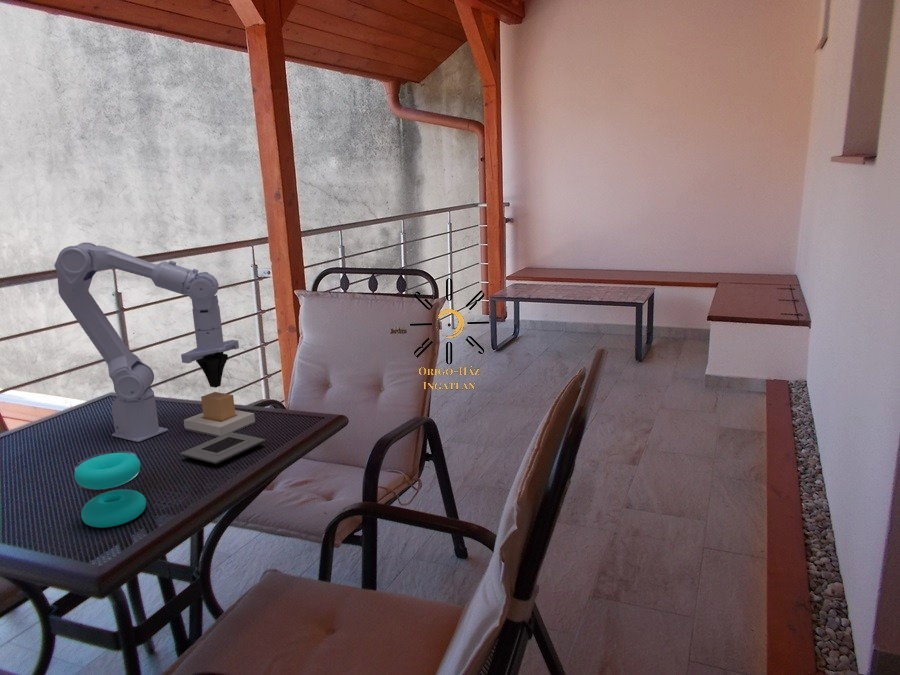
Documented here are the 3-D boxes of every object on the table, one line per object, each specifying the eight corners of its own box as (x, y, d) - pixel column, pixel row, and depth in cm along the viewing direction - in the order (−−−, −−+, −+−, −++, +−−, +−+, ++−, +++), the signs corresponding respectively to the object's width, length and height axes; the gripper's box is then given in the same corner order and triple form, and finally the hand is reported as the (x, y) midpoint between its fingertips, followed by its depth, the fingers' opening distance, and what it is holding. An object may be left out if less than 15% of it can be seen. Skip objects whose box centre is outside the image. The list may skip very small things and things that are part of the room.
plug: (204, 425, 159) (201, 396, 157) (218, 420, 162) (214, 391, 161) (223, 429, 156) (219, 400, 154) (236, 423, 159) (233, 394, 158)
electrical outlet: (231, 440, 151) (230, 430, 151) (266, 448, 146) (264, 437, 146) (181, 462, 141) (179, 451, 140) (216, 471, 135) (215, 460, 135)
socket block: (185, 430, 158) (183, 419, 157) (219, 416, 166) (218, 406, 166) (221, 438, 152) (220, 427, 151) (255, 423, 160) (254, 413, 160)
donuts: (88, 479, 108) (62, 464, 115) (98, 537, 111) (72, 519, 117) (150, 458, 116) (122, 445, 122) (158, 513, 118) (130, 497, 124)
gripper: (194, 336, 146) (201, 397, 149) (245, 322, 158) (251, 379, 161) (171, 333, 149) (179, 393, 152) (223, 320, 161) (230, 376, 164)
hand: (215, 386), depth 157 cm, fingers closed
